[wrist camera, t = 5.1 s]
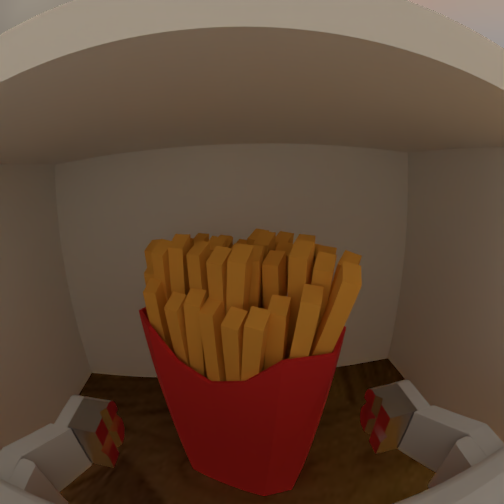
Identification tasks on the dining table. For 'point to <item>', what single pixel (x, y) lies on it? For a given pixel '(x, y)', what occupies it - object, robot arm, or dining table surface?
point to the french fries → (247, 347)
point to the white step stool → (250, 180)
